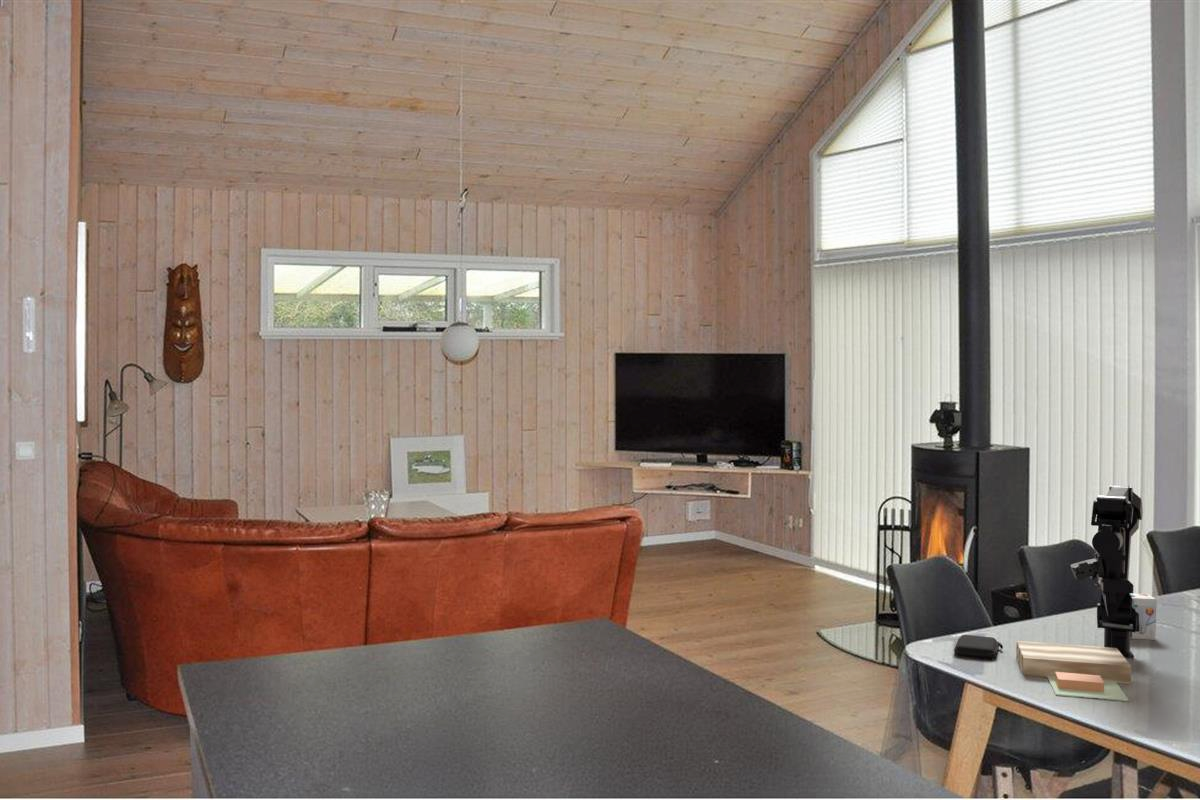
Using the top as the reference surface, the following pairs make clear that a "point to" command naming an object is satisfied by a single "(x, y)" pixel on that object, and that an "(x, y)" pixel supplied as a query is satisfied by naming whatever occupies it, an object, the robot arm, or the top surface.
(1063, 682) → the block
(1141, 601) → the light bulb box
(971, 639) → the carrying case or bag
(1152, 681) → the top surface
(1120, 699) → the mat
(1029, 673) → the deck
